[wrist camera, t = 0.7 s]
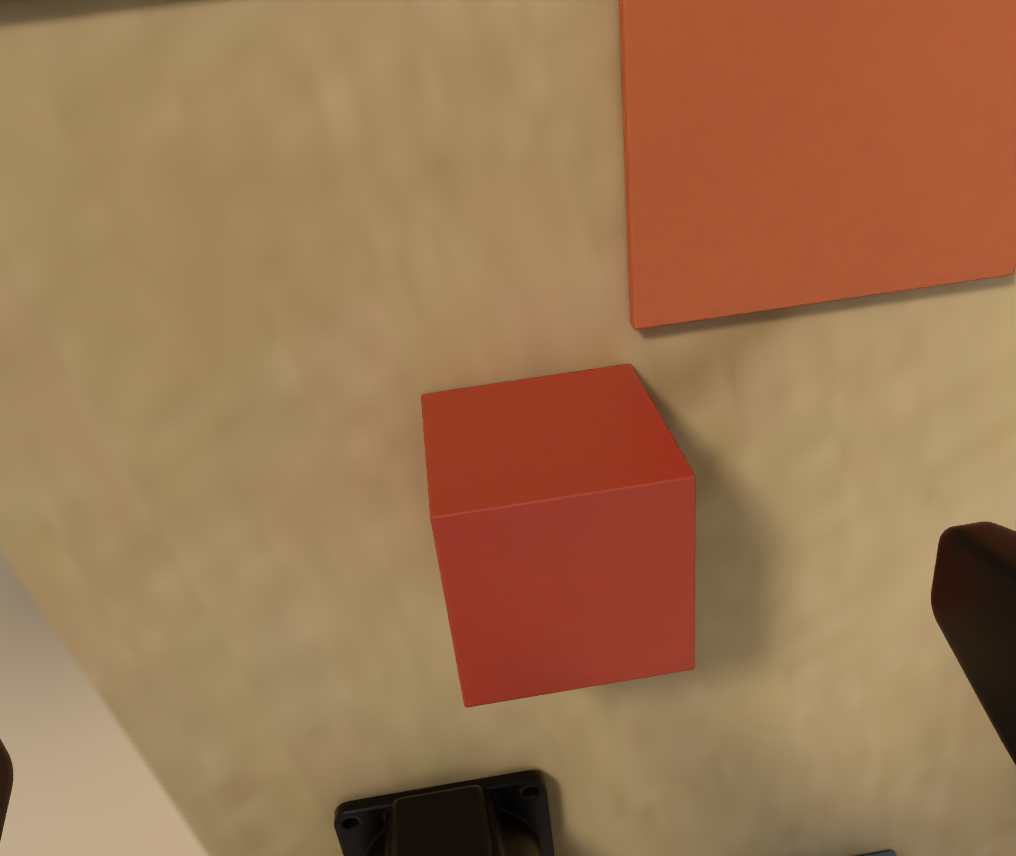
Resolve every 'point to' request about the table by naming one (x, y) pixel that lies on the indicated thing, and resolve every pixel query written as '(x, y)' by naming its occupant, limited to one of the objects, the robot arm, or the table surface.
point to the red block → (560, 533)
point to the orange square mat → (814, 150)
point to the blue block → (883, 854)
